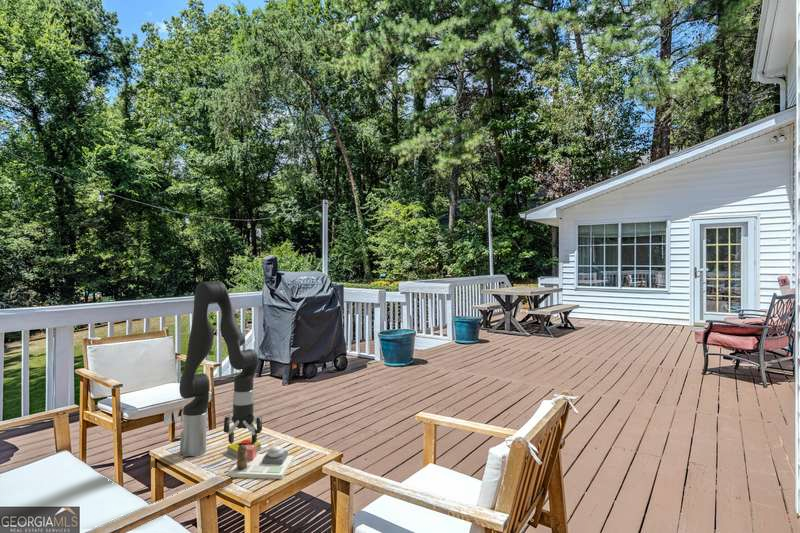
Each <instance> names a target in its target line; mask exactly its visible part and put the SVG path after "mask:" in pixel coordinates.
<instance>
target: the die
mask: <svg viewBox="0 0 800 533" xmlns="http://www.w3.org/2000/svg"><path fill="white" fill-rule="evenodd" d="M245 446H246V447H247V461H253V460H254V458H255V457H256V455H257V454H258V453H257V452H258V451H257V445H245Z"/></svg>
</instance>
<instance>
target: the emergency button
mask: <svg viewBox="0 0 800 533" xmlns="http://www.w3.org/2000/svg"><path fill="white" fill-rule="evenodd" d="M240 445H257V452H260V451H262V450H264V447H263V446H262V444H261V442H260V441H256V442H255V444H252V438H246V439H243V440H239V441H237V442H233V443H232V444H228V445H227V448H226V449H227V451H224V452H223V453H222V455H224V456H225V457H227V458H229V459H231V460H237V453H238V447H239V446H240Z"/></svg>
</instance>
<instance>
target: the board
mask: <svg viewBox="0 0 800 533" xmlns="http://www.w3.org/2000/svg"><path fill="white" fill-rule="evenodd" d="M293 459H294V460H295V455H289V451H288V450H284V454H283V455H282V456H280V457H275V458H272V457H269V456H268V455H267V453H264V454H263V453H262V454H259V453H257V455H256V457H255V458H254V460H253V461H247V468H246V469H244V470H238V469H237V462H235V464H234V465H233V466H232V467H231V468H230V469H229V471H227V475H228V476H231V477H230V478H249V479H250V478H251V479H273V480H274V479H277V480H283V478H284V476H285V475H286V473H287V471H288V470H289V468H290V467H291V465H292V464H293V462H292V461H294V460H293ZM290 464H291V465H290ZM289 466H290V467H289Z"/></svg>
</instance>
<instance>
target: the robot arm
mask: <svg viewBox="0 0 800 533" xmlns="http://www.w3.org/2000/svg"><path fill="white" fill-rule="evenodd" d="M193 298H194V300H193V312H192V313H193V314H192V320H191V321H192V322H191V327H190V328H191V329H190V333H189V339H188V343H187V344H188V345H187V350H186V351H187V352H186V358H185V363H184V365H183V366H184V367H183V370H182V373H181V377H180V382H179V394H180V396H181V398H182V399H185V400H186V399H191V398H193V399H192V400H191V401H190V402H189V403H187V404H186V405H184V407H183V410H182V431H180V438H179V439H180V440H179V441H180V442H179V446H180V448H179V455H180V454H183V455H185V456H195V457H199V456H202V455H203V454H205V453H206V451H207V431H208V430H207V426H208V425H207V423H208V422H207V421H208V420H207V419H208V407H209V399H210V398H209V396H210V388H211V386H210V384H211V383H210V377H209V376H208V374H206V373H203V372H202V373H198V374H196V372H197V370H198V369H199V366H200V365H201V364H202V362H203V361H205V359H206V358H207V357H208V356H209V354H210V352H211V351H212V348H213V344H214V338H215V331H214V329H213V326H212V324H211V323H210V321H209V318H208V309H209V305H214V304H217V305H218V307H219V308H220V312H221V313H220V314H221V317H220V324H219V330H220V333H221V336H222V338H223V341H224V343H225V344H226V346H227V353H228V354H227V355H228V361H229V364H230V366H231V367H232V368H233V369H234V370H237V371H241V372H240V373H239V374H237V375H236V376H235V377H234V380H233V381H234V382H233V395H232V399H233V400H232V416H231V415H229V414H227V415H226V416H225V417H224V420H223V421H224V422H223V433H227V434H228V443H229V445H231V444H234V443H235V442H234V441H235V432H234V431H235V430H236V429H245V430H246V429H247V430H248V431H250V433H251V439H252V444H255V442H256V441H257V440H258V434H261V432H262V431H263V419H262V418H263V417H262V416H261V415H259V416H254V405H255V404H254V400H255V397H254V396H255V395H254V378H255V376H256V372H257V367H258V362H259V356H258V353H257V352H256V351H255V350H254V349H253V348H252V349H251V348H249V349H243V350H241V347H242V346H244V344H245V342H246V339H245V336H244V333H243V332H242V330H241V328H240V325H239V323H238V321H237V319H236V316H235V313H234V309H233V304H232V301H231V299H230V295H229V291H228V289H227V287H226V284H225V283H223V281H221V280H220V281H219V280H211V281H210V280H209V281H201V282H199V283H198V284H197V285H196V287H195V291H194V295H193ZM231 421H232V423H233V425H232V427H231V428H230V422H231ZM253 422H254V423H255V424H256V425H255V424H254V423H253ZM257 442H258V441H257ZM183 455H182V456H183ZM185 456H184V457H185Z"/></svg>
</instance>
